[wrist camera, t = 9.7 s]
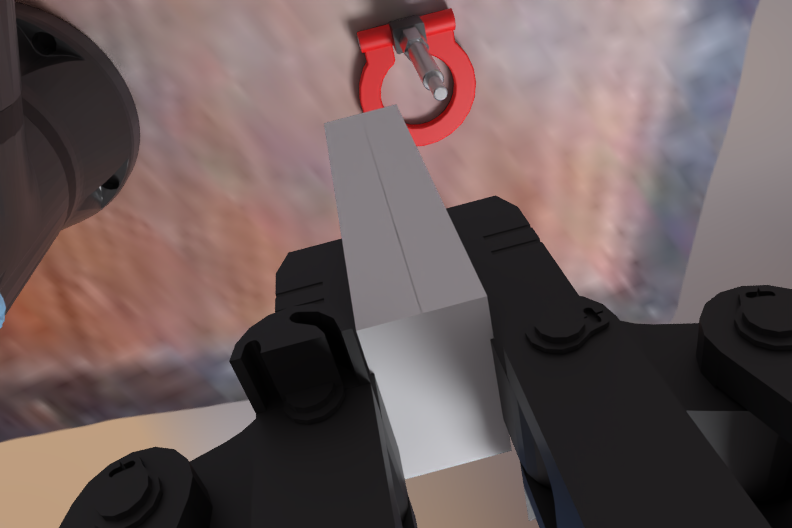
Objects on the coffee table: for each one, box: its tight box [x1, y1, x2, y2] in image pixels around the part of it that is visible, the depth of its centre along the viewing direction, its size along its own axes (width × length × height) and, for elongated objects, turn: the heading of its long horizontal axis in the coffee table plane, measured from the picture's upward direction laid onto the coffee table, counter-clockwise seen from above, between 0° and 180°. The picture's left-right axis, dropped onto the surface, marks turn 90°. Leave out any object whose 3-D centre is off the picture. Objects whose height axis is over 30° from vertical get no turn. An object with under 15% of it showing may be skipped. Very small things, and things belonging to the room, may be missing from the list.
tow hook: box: [357, 8, 476, 146], centre depth 39 cm, size 8×13×9 cm
